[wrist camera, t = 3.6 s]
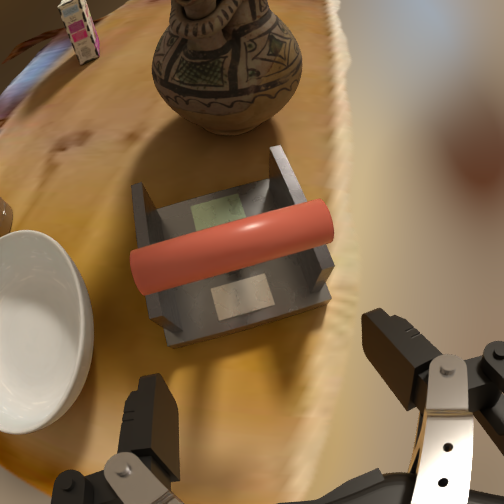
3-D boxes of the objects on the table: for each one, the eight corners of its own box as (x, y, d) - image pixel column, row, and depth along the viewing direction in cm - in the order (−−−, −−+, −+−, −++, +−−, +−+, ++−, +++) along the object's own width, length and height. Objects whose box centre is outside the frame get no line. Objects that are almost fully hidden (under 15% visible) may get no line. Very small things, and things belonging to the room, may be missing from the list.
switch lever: (283, 239, 28) (337, 243, 15) (176, 270, 28) (140, 299, 14) (276, 214, 28) (325, 196, 15) (168, 244, 27) (125, 251, 14)
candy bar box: (101, 56, 51) (79, -4, 36) (80, 66, 51) (56, 7, 36) (100, 40, 56) (82, -13, 41) (82, 48, 55) (62, -3, 40)
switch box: (327, 304, 29) (348, 275, 22) (173, 348, 28) (143, 334, 20) (280, 186, 35) (283, 136, 27) (149, 222, 33) (123, 179, 26)
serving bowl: (101, 460, 23) (64, 472, 17) (-23, 391, 25) (-60, 384, 18) (137, 267, 31) (110, 238, 25) (11, 246, 33) (-19, 222, 27)
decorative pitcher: (194, 70, 45) (171, -63, 22) (302, 77, 43) (312, -68, 21) (144, 167, 37) (69, -15, 14) (288, 182, 35) (306, -45, 12)
